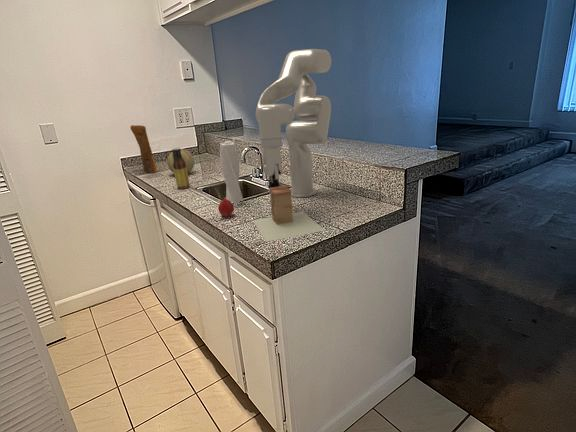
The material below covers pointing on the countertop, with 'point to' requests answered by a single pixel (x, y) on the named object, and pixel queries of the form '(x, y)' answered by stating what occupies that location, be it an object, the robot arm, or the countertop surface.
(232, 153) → the skyscraper
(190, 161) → the cantaloupe
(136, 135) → the brown tall curved piece
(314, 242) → the countertop surface
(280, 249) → the countertop surface
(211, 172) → the countertop surface
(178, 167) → the sauce bottle
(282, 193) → the copper block
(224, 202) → the onion
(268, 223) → the mat
